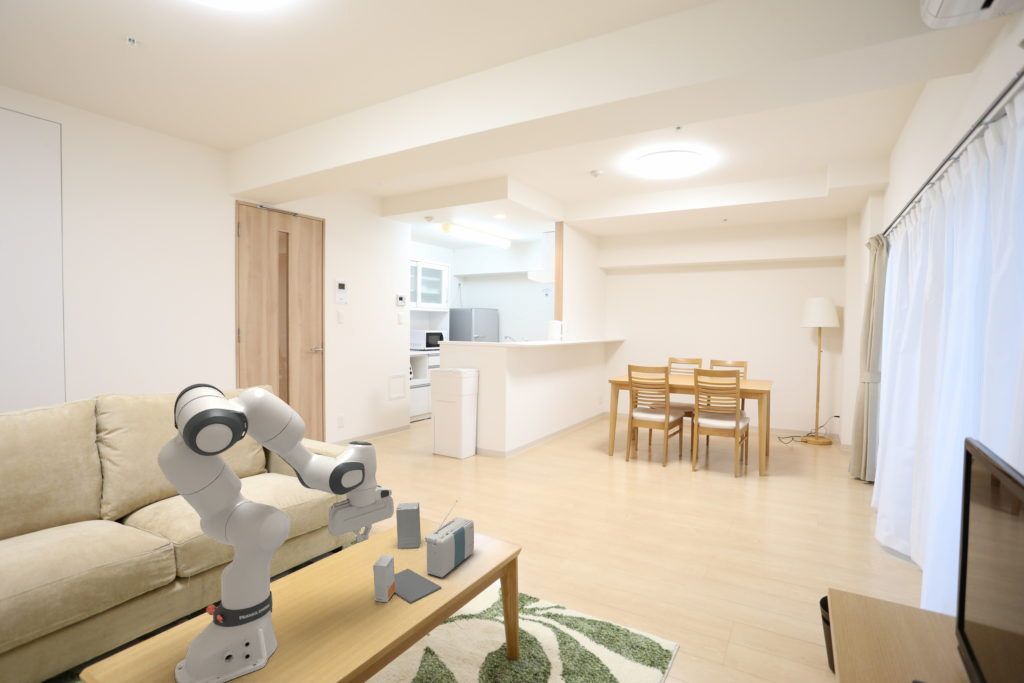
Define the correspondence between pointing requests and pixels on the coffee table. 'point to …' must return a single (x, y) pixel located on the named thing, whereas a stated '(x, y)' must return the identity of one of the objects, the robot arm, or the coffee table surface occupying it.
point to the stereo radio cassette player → (449, 545)
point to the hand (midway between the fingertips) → (362, 540)
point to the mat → (413, 586)
